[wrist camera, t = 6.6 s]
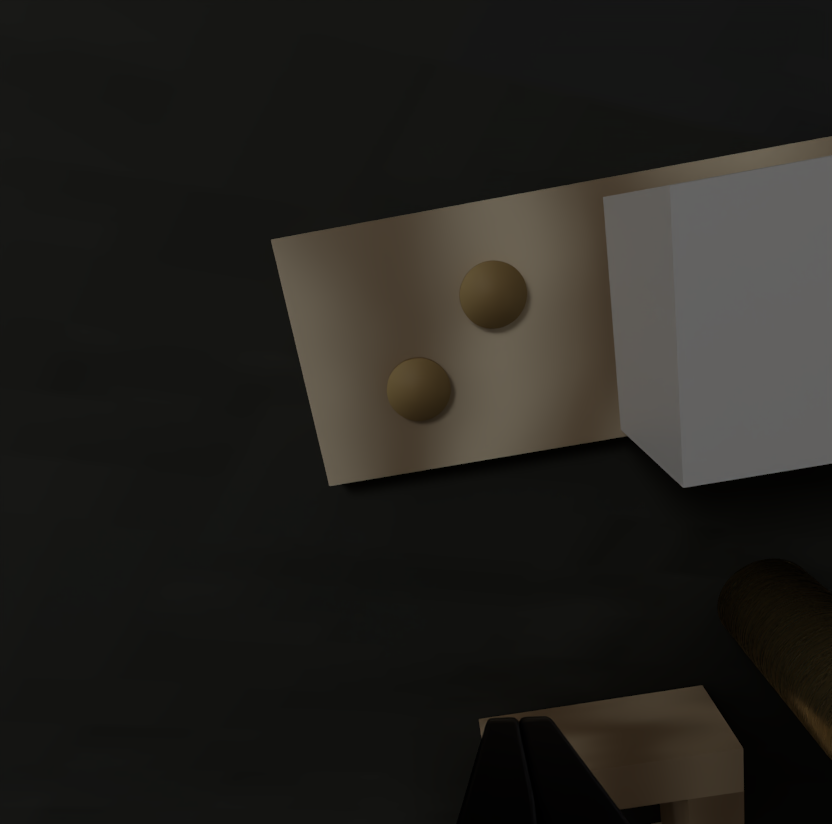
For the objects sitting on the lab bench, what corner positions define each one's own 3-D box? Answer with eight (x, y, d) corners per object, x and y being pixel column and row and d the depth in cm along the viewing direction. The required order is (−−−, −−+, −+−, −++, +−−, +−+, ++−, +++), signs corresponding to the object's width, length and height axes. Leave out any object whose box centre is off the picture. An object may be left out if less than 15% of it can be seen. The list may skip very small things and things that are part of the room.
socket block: (507, 877, 26) (519, 956, 24) (478, 719, 24) (488, 786, 21) (708, 849, 26) (745, 925, 23) (702, 685, 24) (743, 748, 21)
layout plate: (332, 474, 21) (328, 489, 19) (278, 239, 18) (268, 239, 17) (854, 386, 20) (884, 396, 19) (866, 131, 18) (901, 123, 16)
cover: (620, 429, 19) (683, 487, 14) (602, 197, 17) (669, 185, 12) (845, 392, 18) (976, 439, 14) (855, 150, 16) (1011, 122, 12)
